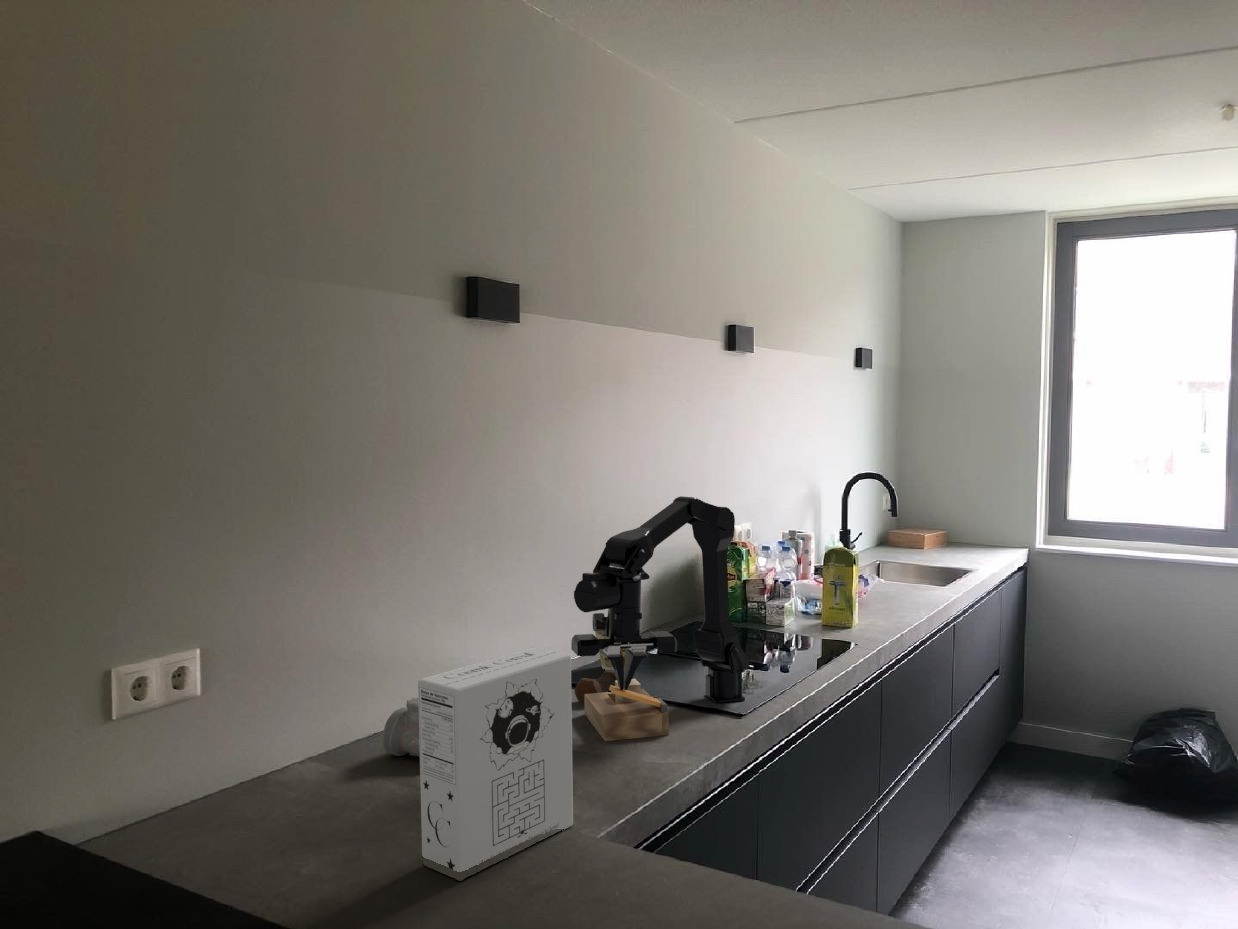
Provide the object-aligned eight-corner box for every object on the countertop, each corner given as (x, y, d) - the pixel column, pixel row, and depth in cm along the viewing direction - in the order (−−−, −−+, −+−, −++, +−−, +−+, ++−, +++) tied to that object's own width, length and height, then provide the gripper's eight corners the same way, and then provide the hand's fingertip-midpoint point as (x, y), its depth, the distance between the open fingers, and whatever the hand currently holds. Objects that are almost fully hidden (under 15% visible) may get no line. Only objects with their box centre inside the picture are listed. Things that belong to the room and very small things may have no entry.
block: (643, 708, 195) (643, 682, 194) (668, 734, 179) (668, 705, 179) (584, 714, 191) (584, 687, 191) (605, 741, 176) (604, 711, 176)
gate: (660, 705, 184) (662, 699, 184) (665, 710, 181) (667, 703, 181) (608, 690, 181) (610, 684, 181) (612, 694, 178) (615, 688, 178)
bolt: (624, 694, 211) (588, 712, 198) (606, 680, 213) (570, 696, 200) (636, 672, 209) (601, 688, 196) (618, 658, 211) (582, 673, 198)
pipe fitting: (376, 757, 168) (384, 698, 167) (407, 746, 175) (415, 690, 174) (431, 777, 162) (439, 716, 162) (461, 765, 169) (469, 707, 169)
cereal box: (536, 812, 146) (533, 646, 144) (574, 825, 141) (571, 654, 139) (421, 866, 129) (416, 679, 128) (459, 883, 124) (455, 689, 123)
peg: (635, 714, 191) (635, 678, 191) (641, 720, 188) (640, 684, 187) (615, 716, 190) (615, 680, 190) (620, 722, 187) (620, 686, 186)
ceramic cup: (588, 665, 227) (587, 623, 226) (627, 660, 231) (626, 618, 231) (611, 679, 215) (611, 634, 215) (652, 674, 219) (651, 629, 219)
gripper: (660, 596, 190) (658, 676, 190) (565, 598, 185) (564, 681, 185) (678, 607, 179) (677, 691, 180) (579, 610, 174) (577, 697, 175)
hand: (623, 689), depth 180 cm, fingers closed
